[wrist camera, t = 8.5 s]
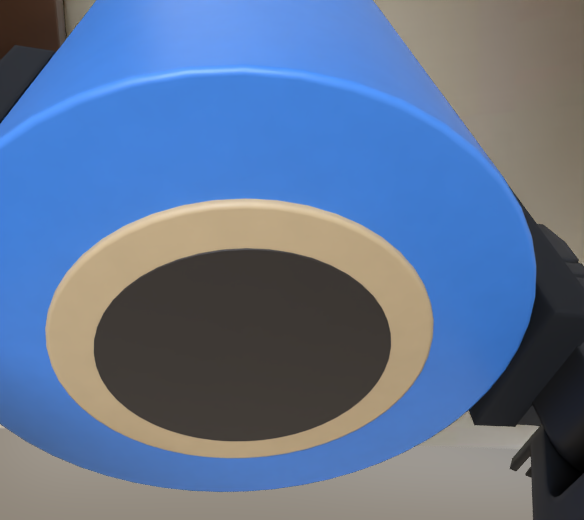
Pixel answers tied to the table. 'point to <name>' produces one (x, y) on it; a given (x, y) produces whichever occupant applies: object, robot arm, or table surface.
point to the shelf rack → (31, 24)
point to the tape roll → (248, 247)
